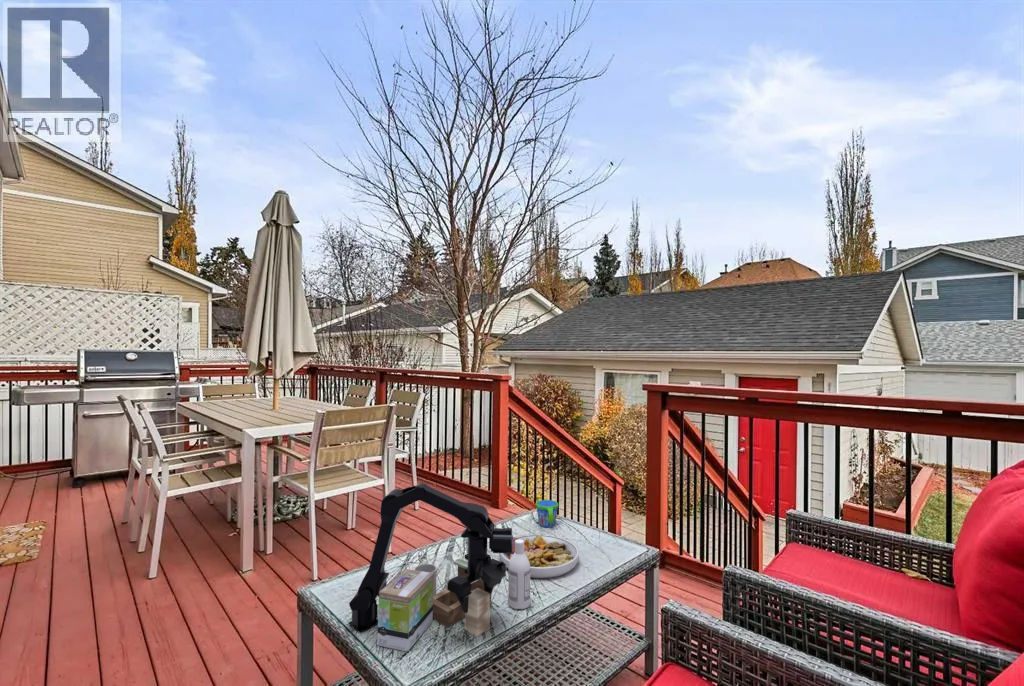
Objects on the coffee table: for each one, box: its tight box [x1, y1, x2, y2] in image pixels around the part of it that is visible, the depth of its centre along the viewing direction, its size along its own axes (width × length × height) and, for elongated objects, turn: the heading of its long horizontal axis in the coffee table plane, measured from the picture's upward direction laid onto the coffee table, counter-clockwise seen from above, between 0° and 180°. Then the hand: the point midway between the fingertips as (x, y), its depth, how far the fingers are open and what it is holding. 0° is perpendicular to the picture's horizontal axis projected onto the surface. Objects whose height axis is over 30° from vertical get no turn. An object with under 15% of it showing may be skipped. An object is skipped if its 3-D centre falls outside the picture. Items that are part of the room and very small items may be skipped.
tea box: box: [376, 568, 434, 652], centre depth 131 cm, size 15×10×15 cm
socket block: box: [433, 558, 492, 628], centre depth 143 cm, size 16×15×11 cm
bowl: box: [499, 534, 579, 579], centre depth 176 cm, size 30×30×8 cm
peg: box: [464, 588, 491, 637], centre depth 133 cm, size 5×5×10 cm
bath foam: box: [507, 539, 531, 610], centre depth 146 cm, size 7×7×20 cm
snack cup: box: [535, 499, 559, 528], centre depth 214 cm, size 16×10×10 cm
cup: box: [413, 563, 438, 596], centre depth 152 cm, size 7×10×9 cm
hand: (477, 605), depth 133 cm, fingers open, 9 cm apart
